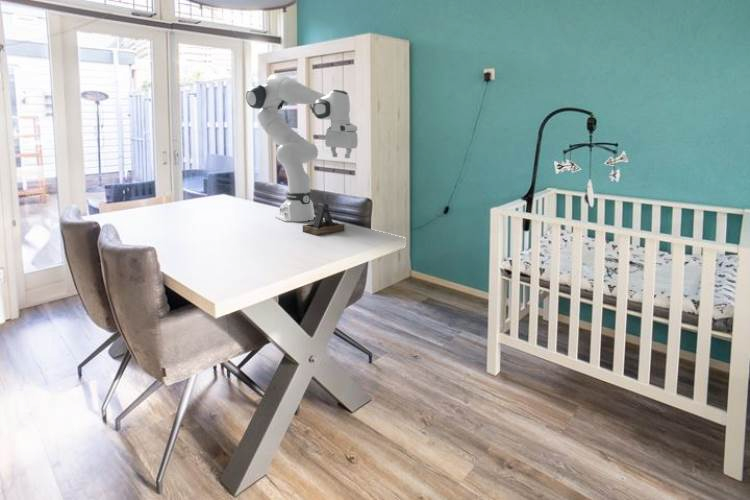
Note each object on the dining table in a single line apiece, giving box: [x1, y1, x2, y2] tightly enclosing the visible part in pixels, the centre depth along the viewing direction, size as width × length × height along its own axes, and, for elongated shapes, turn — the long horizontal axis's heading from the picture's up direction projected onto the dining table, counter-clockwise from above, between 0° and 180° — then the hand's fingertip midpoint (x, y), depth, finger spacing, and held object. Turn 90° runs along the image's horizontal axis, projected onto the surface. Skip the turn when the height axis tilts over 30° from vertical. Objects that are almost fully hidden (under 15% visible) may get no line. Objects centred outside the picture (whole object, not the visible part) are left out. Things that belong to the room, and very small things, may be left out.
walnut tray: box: [302, 221, 346, 237], centre depth 241 cm, size 12×15×3 cm
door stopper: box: [312, 202, 334, 229], centre depth 240 cm, size 9×6×12 cm, turn 117°
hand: (341, 157), depth 243 cm, fingers open, 8 cm apart
